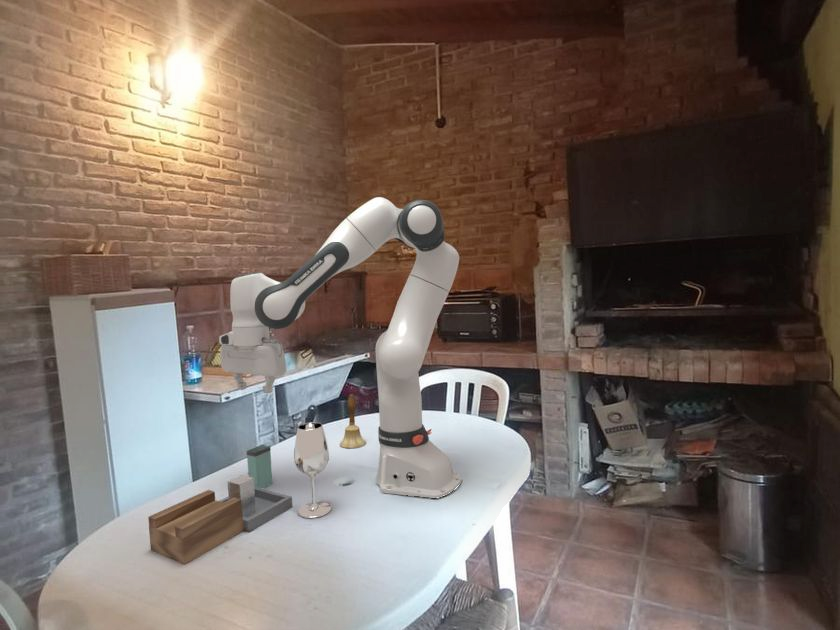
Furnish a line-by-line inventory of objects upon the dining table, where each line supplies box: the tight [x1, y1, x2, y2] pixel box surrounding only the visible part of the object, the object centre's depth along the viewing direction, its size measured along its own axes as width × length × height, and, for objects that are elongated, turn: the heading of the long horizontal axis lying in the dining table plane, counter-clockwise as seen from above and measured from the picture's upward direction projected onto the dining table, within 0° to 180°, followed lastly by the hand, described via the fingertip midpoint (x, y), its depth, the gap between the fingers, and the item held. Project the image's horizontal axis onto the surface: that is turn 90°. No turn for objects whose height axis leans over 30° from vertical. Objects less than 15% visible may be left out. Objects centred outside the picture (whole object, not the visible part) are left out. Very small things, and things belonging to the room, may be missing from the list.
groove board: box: [147, 489, 245, 565], centre depth 106 cm, size 11×14×7 cm
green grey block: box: [246, 444, 273, 489], centre depth 132 cm, size 5×3×10 cm, turn 150°
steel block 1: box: [227, 474, 255, 502], centre depth 116 cm, size 4×4×4 cm
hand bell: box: [339, 393, 367, 449], centre depth 162 cm, size 8×8×16 cm
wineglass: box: [293, 422, 332, 519], centre depth 117 cm, size 8×8×20 cm
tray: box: [218, 487, 293, 533], centre depth 118 cm, size 14×13×2 cm
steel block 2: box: [228, 495, 256, 517], centre depth 116 cm, size 4×4×4 cm
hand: (254, 391), depth 130 cm, fingers open, 8 cm apart
